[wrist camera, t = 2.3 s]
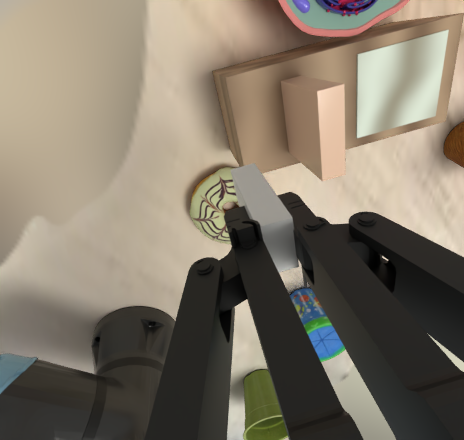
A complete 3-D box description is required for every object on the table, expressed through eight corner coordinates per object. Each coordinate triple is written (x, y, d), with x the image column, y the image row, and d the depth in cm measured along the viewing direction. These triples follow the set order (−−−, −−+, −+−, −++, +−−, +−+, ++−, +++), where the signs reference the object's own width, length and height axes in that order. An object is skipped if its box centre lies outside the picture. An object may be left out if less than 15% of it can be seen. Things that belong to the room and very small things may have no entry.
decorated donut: (215, 149, 39) (219, 158, 36) (280, 186, 44) (289, 198, 41) (176, 214, 43) (176, 228, 40) (239, 242, 48) (245, 257, 44)
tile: (289, 152, 31) (322, 181, 24) (280, 81, 27) (317, 91, 20) (307, 147, 31) (346, 174, 24) (301, 75, 27) (344, 83, 20)
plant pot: (225, 375, 66) (234, 431, 56) (273, 356, 65) (290, 408, 56) (243, 398, 72) (254, 451, 63) (287, 380, 72) (305, 431, 62)
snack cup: (291, 332, 62) (310, 377, 54) (256, 315, 57) (271, 361, 49) (346, 285, 58) (376, 327, 49) (313, 262, 53) (341, 304, 44)
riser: (230, 150, 40) (246, 178, 31) (212, 71, 34) (225, 77, 26) (388, 106, 40) (446, 121, 32) (393, 22, 35) (465, 12, 27)
